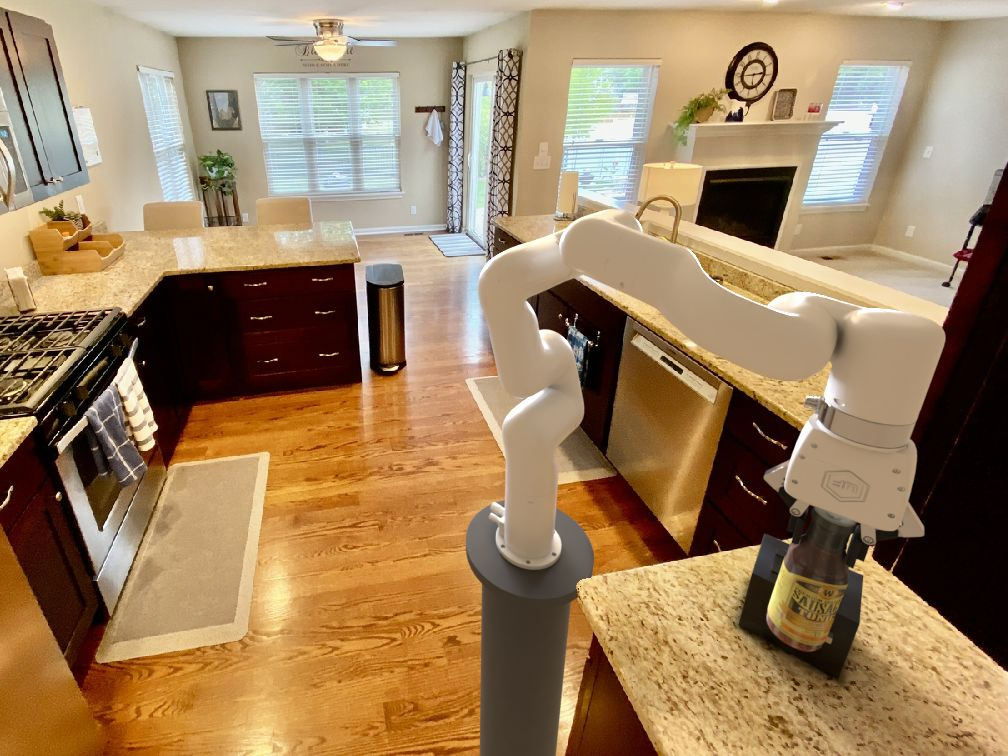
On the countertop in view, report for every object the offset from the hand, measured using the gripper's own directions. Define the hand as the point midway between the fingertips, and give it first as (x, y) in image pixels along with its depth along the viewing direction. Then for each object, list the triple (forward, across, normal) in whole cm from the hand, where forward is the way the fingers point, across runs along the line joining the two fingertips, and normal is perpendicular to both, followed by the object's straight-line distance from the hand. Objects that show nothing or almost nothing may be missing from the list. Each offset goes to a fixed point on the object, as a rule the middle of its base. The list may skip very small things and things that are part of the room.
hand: (822, 547), depth 59 cm
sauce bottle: (+15, 0, 0) cm, 15 cm away
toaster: (+25, 0, +11) cm, 27 cm away
